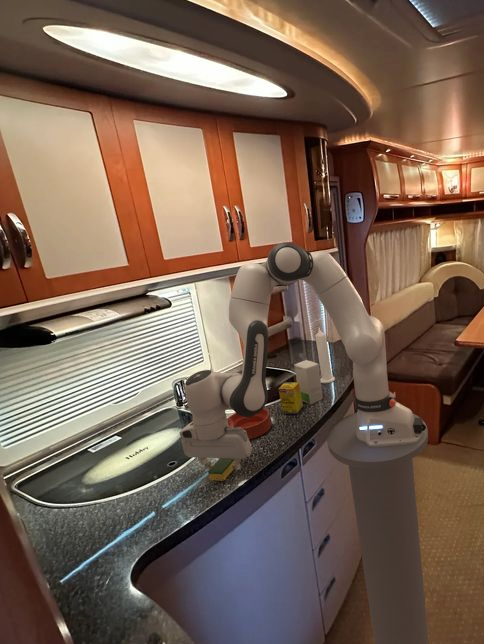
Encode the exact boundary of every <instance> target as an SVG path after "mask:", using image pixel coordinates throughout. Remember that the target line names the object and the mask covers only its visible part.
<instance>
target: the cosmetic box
mask: <svg viewBox="0 0 484 644" xmlns="http://www.w3.org/2000/svg"><path fill="white" fill-rule="evenodd" d="M293 366H294V374H295V380H296V383H297V382H299V386H300V392H301V398H302V402H304V403H306V404H309V405H313V404H316V403H317V402H320V401H321V400H323V399H324V397H323V389H322V383H321V381H320V379H321V372H320V364H319V363H317V362H314V361H312V360H308V359H305V360H302V361H300V362H297V363H295V364H294V365H293Z"/></svg>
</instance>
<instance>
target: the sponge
mask: <svg viewBox="0 0 484 644" xmlns="http://www.w3.org/2000/svg"><path fill="white" fill-rule="evenodd" d="M235 462H236V461H234V459H233V458H218V459H217V461H216V462H215V463H213V464H212V468H210V469H208V470H207V474H208V477H209V481H219V482H224V481H226V479H227V478H228V477H229V475H230V474H231V473H232V472H233V471H234V470H233V468H232V465H233V464H234V463H235Z"/></svg>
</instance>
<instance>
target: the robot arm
mask: <svg viewBox="0 0 484 644" xmlns="http://www.w3.org/2000/svg"><path fill="white" fill-rule="evenodd" d="M236 273H237V274H236V276H235V279H234V282H233V285H232V289H231V293H230V299H229V303H228V321H229V323H230V325H231V326H232V327H233V329H234V330H235V331H236V332H237V334H238V335H239V337H240V339H241V341H242V344H243V359H242V369H241V373H239V372H235V371H230V372H217V371H213V370H210V369H204V370H200V371H197V372H195V373H192V374H191V375H190V376H189V377H188V378H187V379H186V381H185V383H184V392H185V399H186V403H187V407H188V411H190V413H191V416H192V421H191V422H189V423H188V424H187V425H186V426H184V427H183V428H182V429H181V430H180V431H179V437H180V438H181V446H182V451H183V453H184V455H185V456H186V457H187V458H195V459H196V458H197V460H198V461H199V462H200V463H201V465H203V468H204V470H210V469H211V468H212V466H213V464H212V463H213V462H212V461H210V460H209V459H220V458H233V459H234V461H235V463H234V464H233V465H232V468H233V471H240V469H241V461H242V460H245V459H247V458H248V457H249V456H250V455H251V453H252V451H253V449H252V444H251V442H250V439H248V436H247V433H246V431H245V430H244V429H241V427H229V425H228V421H227V418H228V417H227V413H226V411H227V410H228V409H232V411H233V412H234V413H237V414H238V415H240V416H242V417H251V416H254V415H256V414H258V413H259V412H260V411H261V410H262V409H263V408H265V406H266V405H267V403H268V399H269V391H268V387H267V381H266V380H267V378H266V377H267V376H266V375H267V363H268V352H269V351H268V350H269V328H268V323H269V321H268V320H269V319H268V318H269V311H270V304H271V298H272V295H273V291H274V289H275V288H276V287H277V288H278V287H289V286H291V285H294V284H296V283H297V282H298V281H304V282H305V283H307V284H308V285H309V287H310V288H311V289H312V290H313V292H314V294H315V296H316V297H317V299H318V300H319V302H320V303H321V305H322V306H323V308H324V309H325V310H326V312H327V314H328V315H329V317H330V318H331V320H332V323H333V325H334V328H335V330H336V332H337V334H338V336H339V338H340V340H341V342H342V344H343V346H344V349H345V353H346V355H347V357H348V358H349V360H351V361H352V378H353V386H354V393H355V395H354V404H355V405H354V407H355V411H356V412H357V430H356V436H357V438H358V439H359V440H361V441H363V442H365V443H366V444H367V445H368V446H369V447H383V446H394V445H405V444H415V443H417V442H418V441H419V440H420V439H421V437H422V433H423V431H424V430H425V429H426V426H427V425H426V426H425V425H424V424H423V421H424V420H423V417H420V418H414V415H413V414H414V413H413V411H412V410H411V408H409V407H407V406H405V405H403V404H401V403H400V402H398V401H397V397H396V391H394V392H392V391H390V387H389V380H388V369H387V367H388V366H387V349H386V335H385V334H386V333H385V328H384V325H383V323H382V322H381V320H379V318H377V317H376V316H373V315H370V314H369V313H368V311H367V309H366V306H365V305H364V303H363V300H362V297H361V296H360V294H359V292H358V291H357V290H356V288H355V286H354V284H353V282H352V281H351V280H350V278H349V276H348V275H347V273H346V272H345V271H344V269H343V268H342V266H341V265H340V264H339V263H338V261H337V260H336V259H335V258H334V257H333V256H332V255H331V254H330V253H329V252H328V251H326V250H318V251H314V252H312V253H311V252H309V251H308V250H306V249H304V248H302V247H300V246H299V245H298V244H295V243H293V242H288V241H287V242H285V241H284V242H280V243H277V244H276V245H274V246H273V247H272V248H271V249H270V251H269V252H268V255H267V258H266V261H264V262H263V263H257V262H248V263H245V264H243V265H241V266H240V267H239V269H238V270H237V272H236Z"/></svg>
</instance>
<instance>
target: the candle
mask: <svg viewBox="0 0 484 644" xmlns="http://www.w3.org/2000/svg"><path fill="white" fill-rule="evenodd" d="M317 329H318V331H317V332H316V334H315V336H314V337H315V342H316V349H317V356H318V364H319V370H320V376H321V377H320V381H321V384H330V383H333V382H334V381H335V380H336V377H335V376H334V375H332V370H331V368H332V367H331V363H330V355H329V349H328V343H327V342H328V341H327V336H326V333H325V332H323V331H322V329H321V327H318V328H317Z"/></svg>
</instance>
